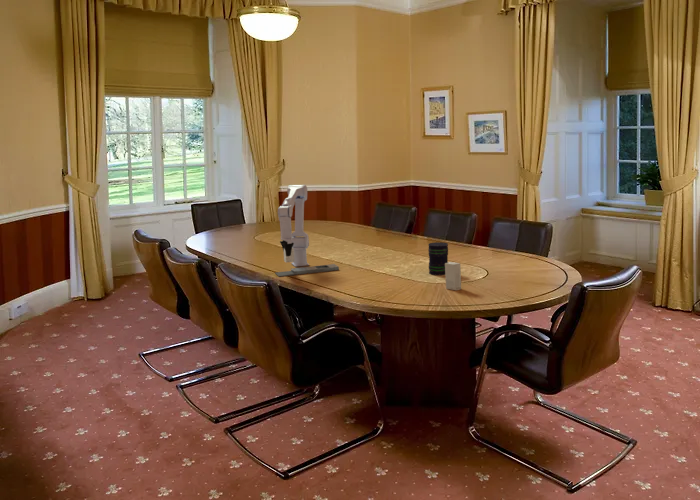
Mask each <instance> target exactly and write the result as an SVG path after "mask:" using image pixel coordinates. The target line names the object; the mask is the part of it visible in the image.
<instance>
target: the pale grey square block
mask: <svg viewBox="0 0 700 500" xmlns="http://www.w3.org/2000/svg"><path fill="white" fill-rule="evenodd" d="M283 261H284V262H285V263H286V264H287V263H293V262H294V248H292V251H291V256H286V253H285V248H284V252H283Z"/></svg>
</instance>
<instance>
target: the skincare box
mask: <svg viewBox="0 0 700 500" xmlns="http://www.w3.org/2000/svg"><path fill="white" fill-rule="evenodd" d="M461 269H462V268H461V263H460V262H454V261H448V263H445V275H444V276H445V289H446V290H447V289H448V290H450V291H451V290H453V291H459V290H462V275H461V273H462V272H461Z"/></svg>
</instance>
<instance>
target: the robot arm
mask: <svg viewBox="0 0 700 500" xmlns="http://www.w3.org/2000/svg"><path fill="white" fill-rule="evenodd" d="M287 195H288V196H287V197H286V198H284V200H283V202H282V203H281V205H280V206H279V207H278V208H277V216H278V217H277V218H278V221H279V227H280V241H279V243H280V245H281V247H282V252H283V253H284V248H285V253H286V256H291V251H292V248H294V262H290V264H291V265H292V266H293V267H295V268H298V267H307V266H309V265H310V263H308V260H307V259H308V258H307V256H308V255H307V249H308V248H309V246H310V239H309V238H310V237H309V234H308V233H307V232H305V230H304V227H305V224H304V223H305V222H304V219H305V217H304V216H305V202H306V201H307V200H308V187H307V185H306V184H289V185H288V186H287ZM294 206H295V207H294ZM293 209H294V210H295V211H294V231H292V217H293Z"/></svg>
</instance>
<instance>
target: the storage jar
mask: <svg viewBox="0 0 700 500" xmlns="http://www.w3.org/2000/svg"><path fill="white" fill-rule="evenodd" d="M427 249H428V254H427V255H428V260H429V262H428V271H429V272H428V274H429V275H431V276H445V263H448V262H449V261H448V260H449V259H448V256H449V243H448V242H442V241H441V242H438V241H437V242H430V243H428V248H427Z"/></svg>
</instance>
